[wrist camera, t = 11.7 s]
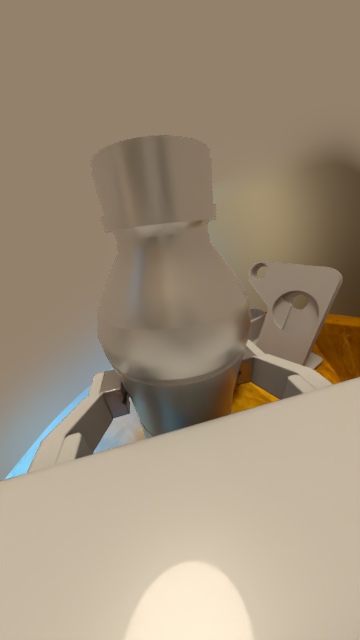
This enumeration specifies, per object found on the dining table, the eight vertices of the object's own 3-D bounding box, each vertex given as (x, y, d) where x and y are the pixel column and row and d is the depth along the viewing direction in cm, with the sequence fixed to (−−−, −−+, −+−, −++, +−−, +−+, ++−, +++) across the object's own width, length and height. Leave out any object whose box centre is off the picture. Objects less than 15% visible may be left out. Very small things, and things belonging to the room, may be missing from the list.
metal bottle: (160, 432, 18) (99, 194, 9) (228, 433, 17) (238, 174, 8) (144, 527, 12) (-78, 133, 3) (245, 536, 11) (347, 40, 2)
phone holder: (223, 341, 44) (224, 268, 35) (250, 327, 48) (256, 259, 40) (297, 385, 30) (327, 283, 22) (324, 360, 35) (358, 267, 27)
